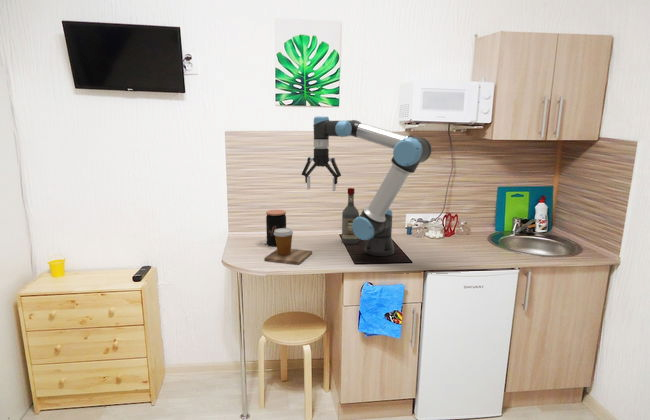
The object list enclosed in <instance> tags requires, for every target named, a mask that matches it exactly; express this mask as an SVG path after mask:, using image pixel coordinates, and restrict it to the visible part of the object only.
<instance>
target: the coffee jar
mask: <svg viewBox="0 0 650 420" xmlns="http://www.w3.org/2000/svg"><path fill="white" fill-rule="evenodd" d="M265 214H266V216H265V221H266V222H265V223H266V230H265V231H266V243H267V244H268V246H269V247H277V246H276V240H275V235H274V231H275V230H276V229H279V228H287V215H286V214H287V211H286V210H283V209H269V210H267V211H266V212H265Z"/></svg>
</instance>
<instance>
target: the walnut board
mask: <svg viewBox="0 0 650 420" xmlns="http://www.w3.org/2000/svg"><path fill="white" fill-rule="evenodd" d="M312 254H313V251H312V250H310V249H309V250H307V249H300V248H299V249H297V248H291V253H290V254H289V255H278V251H277V249H275V250H274V251H272V252H271V253H270V254H268V255H266V256H265V257H264V258H263V259H264V262H269V263H278V264H279V263H280V264H286V265H287V264H288V265H295V266H296V265H297V266H300V265H301V264H302V263H304V261H305V260H307V259H308V258H309V257H310V256H311V255H312Z"/></svg>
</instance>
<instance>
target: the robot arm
mask: <svg viewBox="0 0 650 420" xmlns="http://www.w3.org/2000/svg"><path fill="white" fill-rule="evenodd" d="M349 136H350V137H353V138H358V139H361V140H364V141H368V142H370V143H374V144H377V145H380V146H383V147H385V148H386V147H387V148H389V149H393V150H392V154H393V156H392V158H391V160H390V161H391V167H390V168H389V170H388V171H387V173H386V175H385V177H384V179H383V181H382V182H381V184H380V186H379V187H378V190H376V193H375V194H374V196H373V198H372V200H371V202H370V204H369V205H368V206H364V208H363V210H362V211H361V213H360V214H359V217H357V218H356V219H355V220H354V221H353V223H352V229H353V232H354V234H355V236H356V237H357V238H359V240H362V241H366V243H365V245H364V252H365V254H368V255H370V256H375V257H387V256H388V257H389V256H392V255H393V254H395V246H394V242H393V239H392V232H393V210H392V209H390V207H391V205H392V203H393V202H394V201H395V198H396V197H397V195H398V194H399V192H400V190H401V188H402V187H403V185H404V183H405V182H406V181H407V178H408V177H409V176H410V174H414V173H415V172H416V170H417V168H418V166H419V165H420V163H423V162H424V163H425V162H426V161H427V160H429V158H430V157H431V155H432V151H433V148H432V144H431V142H430V141H429V140H428V139H427V138H425V137H422V136H418V135H417V136H416V135H412V134H407V135H404V134H401V133H397V132H394V131H390V130H387V129H385V128H380V127H376V126H373V125H370V124H366V123H362V122H360V120H356V119H351V120H349V119H347V120H330V119H329V116H314V118H313V147H314V148H313V157H312V156H309V157H307V160H306V164H305V165H304V168H303V170H302V172H301V176H304V179H305V180H304V181H305V183H306V190H310V189H311V176H310V174H311V173H312V172H313V171H314V170H315V168H316V167H317V168H318V167H321V168H323V167H325V168H327V171H329V173H331V175H332V176H333V177H332V191H333V192H335V191H336V186H337V185H338V178H339V177H341V176H342V174H341V172H340V169H339V168H338V165H337V163H336V158H335V157H331V158H330V157H329V154H330V153H329V152H330V151H329V150H330V149H329V145H330V144H329V143H330V142H329V140H330V139H329V137H340V138H343V137H349ZM312 162H313V165H312V166H311V167H310V165H311V163H312ZM329 162H330V163H331V164H330V163H329ZM330 165H332V167H333V168H332V167H331V166H330ZM309 167H310V168H309Z"/></svg>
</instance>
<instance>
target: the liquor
mask: <svg viewBox="0 0 650 420" xmlns="http://www.w3.org/2000/svg"><path fill="white" fill-rule="evenodd" d="M347 196H348V197H347V198H348V199H347V206H346V207H345V208H344V209H343V210H342V217H341V218H342V219H341V221H342V222H341V242H342V243H343V244H347V245H349V244H350V245H356V244H358V243H359V240H360V239H359V238H357V237H356V236H355V234H354V232H353V229H352V223H353V221H354V220H355V219H356V218H357V217H359V216H360V212H359V210H358V209H357V207H356V206H355V204H354V203H355V202H354V200H355V198H354V197H355V188H353V187H348V188H347Z"/></svg>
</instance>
